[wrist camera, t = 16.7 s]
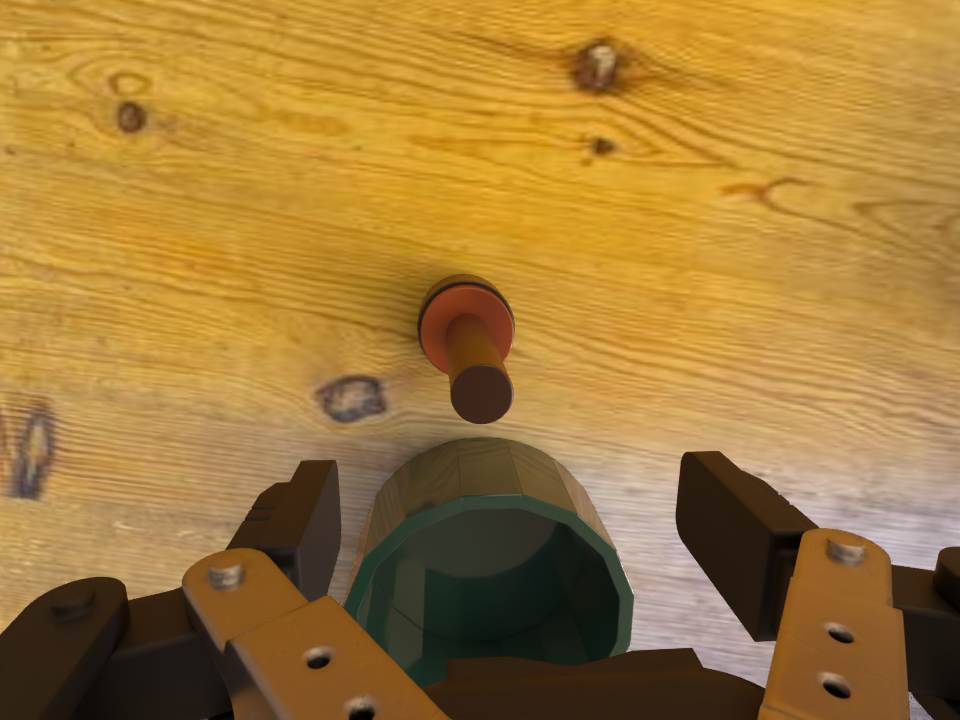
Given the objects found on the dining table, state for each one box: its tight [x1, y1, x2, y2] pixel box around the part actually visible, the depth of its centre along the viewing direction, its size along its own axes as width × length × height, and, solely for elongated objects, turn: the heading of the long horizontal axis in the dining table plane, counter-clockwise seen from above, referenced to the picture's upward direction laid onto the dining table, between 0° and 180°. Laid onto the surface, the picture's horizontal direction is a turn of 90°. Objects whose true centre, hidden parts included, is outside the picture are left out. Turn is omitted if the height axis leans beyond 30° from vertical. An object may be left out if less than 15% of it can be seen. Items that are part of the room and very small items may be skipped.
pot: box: [343, 438, 634, 689], centre depth 34 cm, size 15×15×8 cm
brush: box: [417, 274, 515, 424], centre depth 27 cm, size 5×5×14 cm
